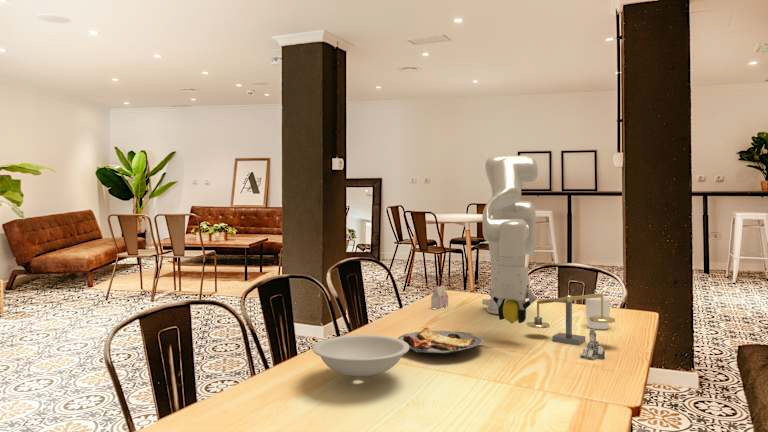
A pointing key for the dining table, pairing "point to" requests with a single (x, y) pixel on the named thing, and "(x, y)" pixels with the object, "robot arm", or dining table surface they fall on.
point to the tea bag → (439, 298)
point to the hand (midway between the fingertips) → (511, 319)
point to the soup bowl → (361, 353)
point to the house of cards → (593, 348)
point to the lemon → (511, 310)
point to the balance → (569, 319)
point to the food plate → (440, 341)
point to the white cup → (597, 311)
